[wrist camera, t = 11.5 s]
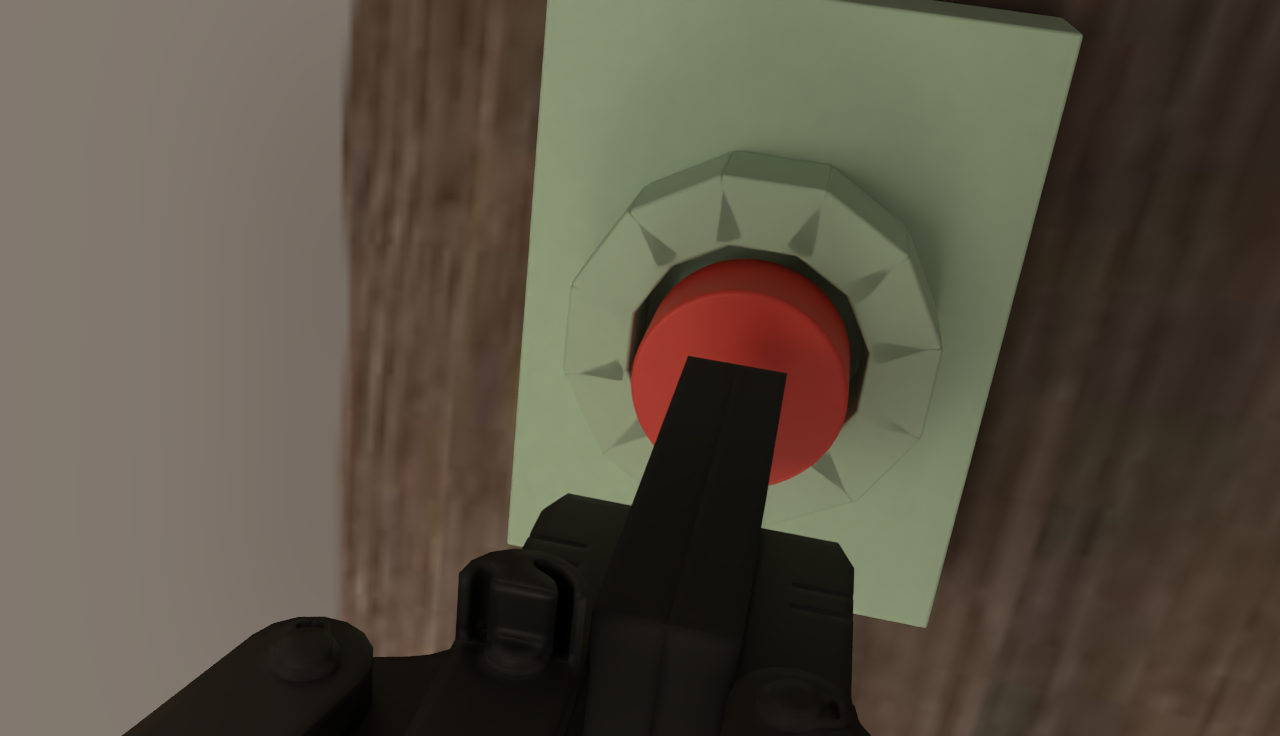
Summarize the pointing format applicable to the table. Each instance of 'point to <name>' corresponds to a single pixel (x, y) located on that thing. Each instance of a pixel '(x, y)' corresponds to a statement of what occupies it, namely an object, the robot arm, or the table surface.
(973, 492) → the table surface
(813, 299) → the red button
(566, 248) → the control block
